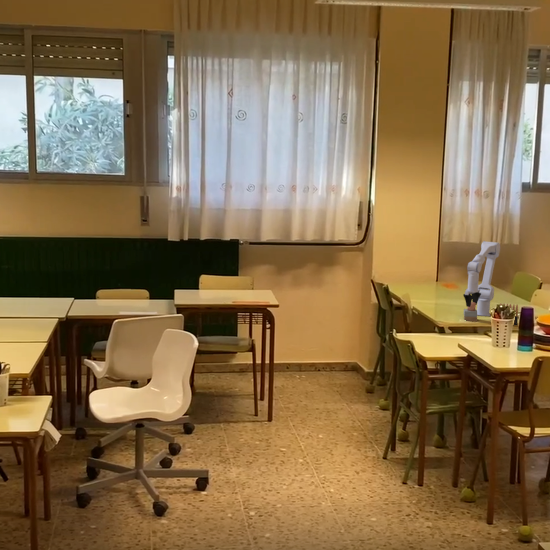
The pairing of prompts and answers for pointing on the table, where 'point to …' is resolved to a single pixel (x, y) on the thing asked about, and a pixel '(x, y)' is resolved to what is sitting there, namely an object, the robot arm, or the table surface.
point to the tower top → (470, 313)
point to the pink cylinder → (472, 307)
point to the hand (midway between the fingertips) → (471, 305)
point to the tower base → (470, 318)
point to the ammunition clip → (516, 313)
